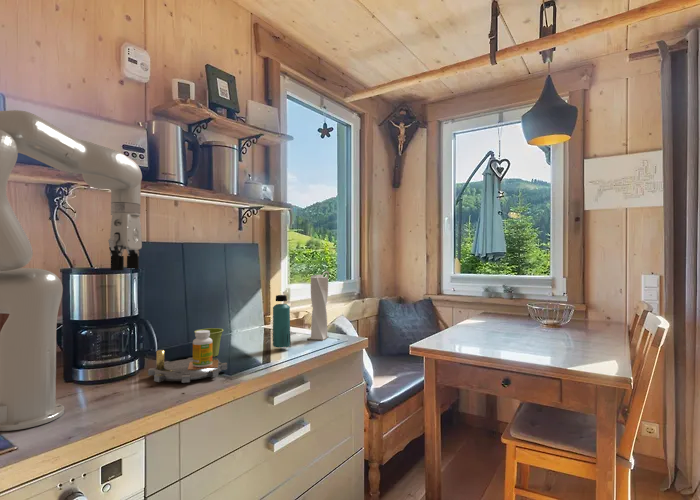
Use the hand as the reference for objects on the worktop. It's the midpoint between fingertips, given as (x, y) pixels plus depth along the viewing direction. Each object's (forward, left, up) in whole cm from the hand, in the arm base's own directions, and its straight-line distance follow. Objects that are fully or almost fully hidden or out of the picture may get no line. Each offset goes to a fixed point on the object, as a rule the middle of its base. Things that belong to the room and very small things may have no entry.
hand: (125, 269), depth 117 cm
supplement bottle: (+15, -17, -28) cm, 36 cm away
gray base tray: (+12, -14, -30) cm, 35 cm away
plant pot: (+28, +2, -31) cm, 41 cm away
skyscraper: (+73, -7, -31) cm, 79 cm away
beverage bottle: (+50, -10, -31) cm, 59 cm away
